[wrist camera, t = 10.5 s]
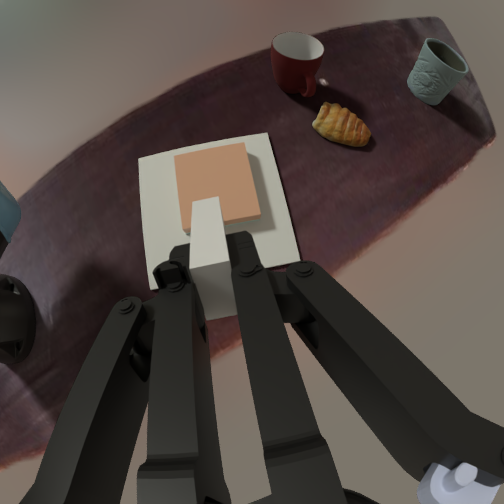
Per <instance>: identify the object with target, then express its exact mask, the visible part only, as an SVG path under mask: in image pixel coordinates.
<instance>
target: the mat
mask: <svg viewBox="0 0 504 504" xmlns="http://www.w3.org/2000/svg"><path fill="white" fill-rule="evenodd" d="M242 142H244V143H245V147H246V151H247V155H248V160H249V164H250V168H251V172H252V177H253V181H254V185H255V190H256V194H257V199H258V203H259V207H260V212H261V218H260V220H259V221H253V222H248V223H243V224H237V225H232V226H227V227H225V230H226V234H231V233H236V232H241V231H247V232H249V233H250V234H251V235H252V237H253V240H254V243H255V246H256V249H257V252H258V255H259V258H260V261H261V264H263V266H264V267H265V268H270V267H275V266H280V265H285V264H290V263H294V262H298V261H300V257H299V253H298V248H297V244H296V240H295V236H294V232H293V228H292V224H291V220H290V216H289V212H288V208H287V204H286V200H285V196H284V192H283V189H282V185H281V181H280V177H279V174H278V170H277V166H276V163H275V159H274V155H273V152H272V148H271V145H270V141H269V138H268V134H267V133H263V134H256V135H249V136H243V137H237V138H231V139H225V140H220V141H214V142H209V143H204V144H199V145H194V146H189V147H185V148H180V149H176V150H171V151H167V152H163V153H159V154H155V155H151V156H147V157H143V158H139V181H140V199H141V213H142V225H143V235H144V245H145V254H146V262H147V270H148V278H149V285H150V290H154V289H159V288H158V286H157V283H156V281H155V279H154V276H153V274H152V272H153V270H154V268H155V267H156V266H157V265H159V264H160V263H162V262H164V261H167V260H169V255H170V252H171V250H172V249H173V248H174V246H178V245H183V244H187V243H190V238H191V234H187V235H186V234H185V232H184V231H183V229H182V222H181V214H180V207H179V199H178V190H177V181H176V172H175V162H174V156H175V155H180V154H184V153H189V152H194V151H198V150H203V149H208V148H214V147H219V146H224V145H230V144H236V143H242Z"/></svg>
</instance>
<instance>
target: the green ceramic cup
mask: <svg viewBox="0 0 504 504" xmlns="http://www.w3.org/2000/svg"><path fill="white" fill-rule="evenodd" d="M467 73H468V66H467V64H466V62H465V61H464V59H463V58H462V57H461V56H460V55H459V54H458V53H457V52H456V51H455V50H454V49H452V48H451V47H450V46H448V45H447V44H445V43H443V42H441V41H439V40H437V39H433V38H428V39H426V40H425V43H424V45H423V47H422V49H421V52H420V54H419V57H418V60H417V62H416V63H415V66H414V69H413V70H412V71H411V73H410V75H409V77H408V80H407V84H408V87H409V88H410V90H411V92H412V93H413V94H414V95H415V96H416V97H417V98H418V99H420V100H421V101H423V102H424V103H427V104H429V105H437V104H439V103H440V102H441V101H442V100H443V98H444V97H445V96H446V95H447V94H448V93H449V91H450V90H452V89H453V88H454V87H455V85H456V84H457V83H458V82H459V81H460V80H461V79H462V78H463V77H464V76H465V75H466V74H467Z"/></svg>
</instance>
